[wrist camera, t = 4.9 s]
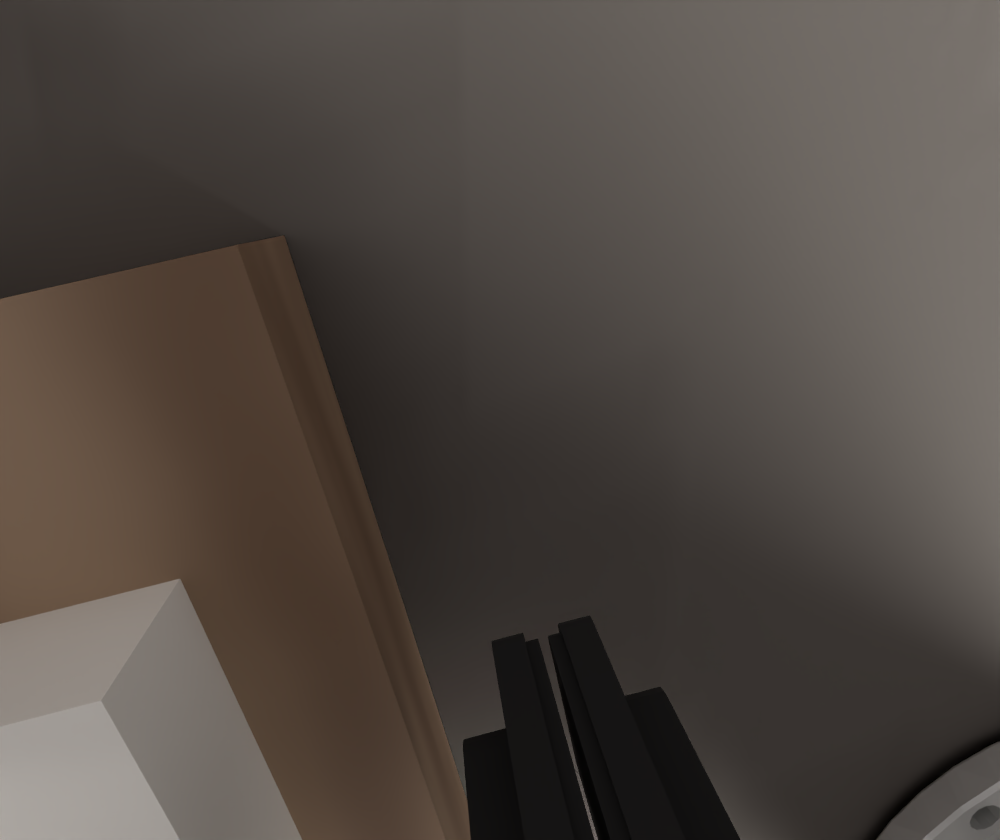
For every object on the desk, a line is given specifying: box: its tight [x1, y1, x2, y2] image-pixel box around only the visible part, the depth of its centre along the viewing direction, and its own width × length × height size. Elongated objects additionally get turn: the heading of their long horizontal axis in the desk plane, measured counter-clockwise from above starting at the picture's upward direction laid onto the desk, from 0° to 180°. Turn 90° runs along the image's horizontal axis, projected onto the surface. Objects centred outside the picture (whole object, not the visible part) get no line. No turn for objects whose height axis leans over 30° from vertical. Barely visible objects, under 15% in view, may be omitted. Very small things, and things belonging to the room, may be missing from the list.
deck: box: [0, 236, 471, 840], centre depth 12 cm, size 14×16×3 cm
